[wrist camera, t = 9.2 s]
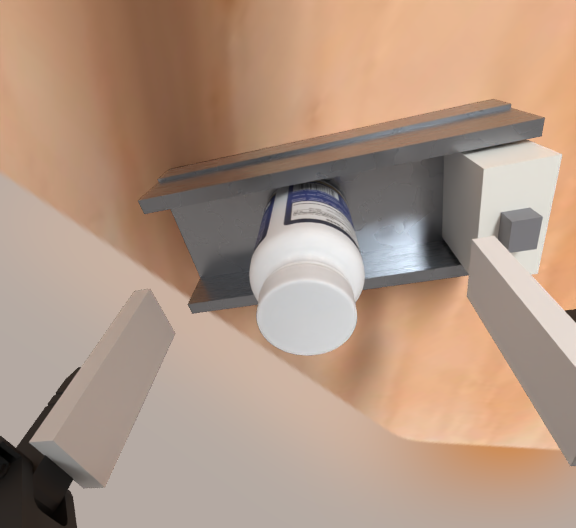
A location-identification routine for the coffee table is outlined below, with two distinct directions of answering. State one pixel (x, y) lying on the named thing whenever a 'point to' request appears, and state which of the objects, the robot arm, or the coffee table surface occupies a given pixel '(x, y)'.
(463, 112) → the rail
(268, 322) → the pill bottle
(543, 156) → the mounted module
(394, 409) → the coffee table surface
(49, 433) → the robot arm
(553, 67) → the coffee table surface
